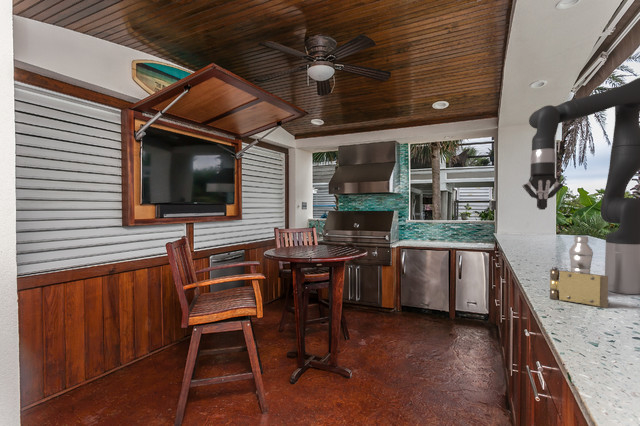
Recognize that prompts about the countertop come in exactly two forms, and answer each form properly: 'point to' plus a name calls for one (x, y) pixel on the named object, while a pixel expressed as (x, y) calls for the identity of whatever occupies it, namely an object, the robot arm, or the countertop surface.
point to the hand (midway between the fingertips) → (541, 209)
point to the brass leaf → (578, 287)
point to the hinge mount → (603, 279)
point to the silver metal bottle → (581, 255)
